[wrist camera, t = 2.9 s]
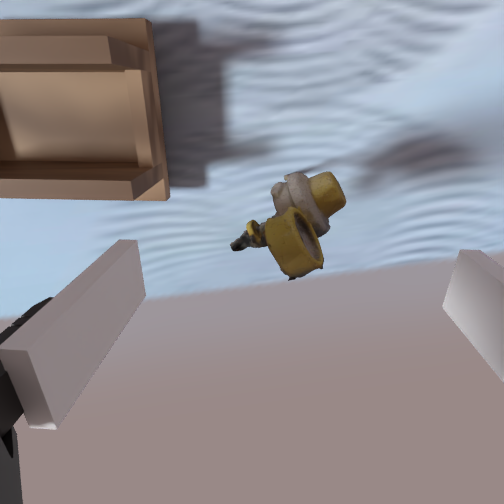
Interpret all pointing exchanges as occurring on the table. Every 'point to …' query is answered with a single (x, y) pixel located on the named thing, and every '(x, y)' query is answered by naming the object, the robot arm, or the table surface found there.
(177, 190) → the table surface
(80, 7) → the table surface
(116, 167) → the stand
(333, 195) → the regulator
